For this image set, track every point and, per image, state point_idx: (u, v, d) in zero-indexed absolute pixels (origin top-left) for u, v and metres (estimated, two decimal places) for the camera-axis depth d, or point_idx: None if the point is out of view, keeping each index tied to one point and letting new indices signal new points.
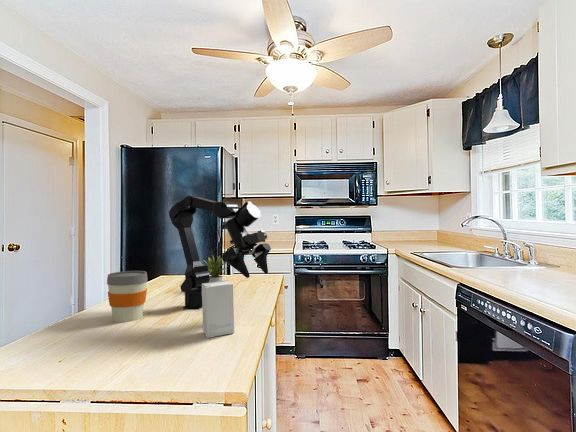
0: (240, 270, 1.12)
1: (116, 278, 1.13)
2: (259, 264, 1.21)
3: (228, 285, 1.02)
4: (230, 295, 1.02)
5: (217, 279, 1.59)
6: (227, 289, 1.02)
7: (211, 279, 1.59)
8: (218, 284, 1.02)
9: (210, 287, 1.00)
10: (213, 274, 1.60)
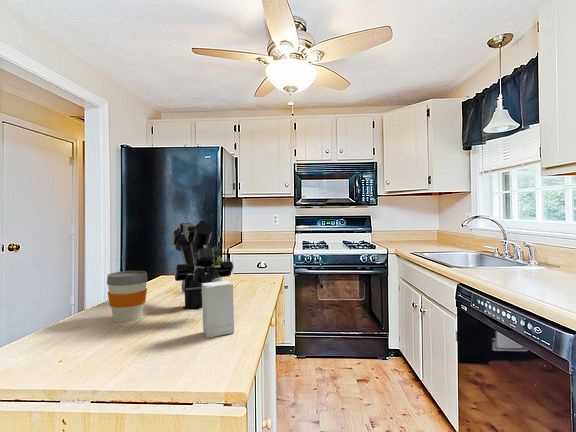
0: None
1: (116, 278, 1.13)
2: None
3: (228, 285, 1.02)
4: (230, 295, 1.02)
5: (217, 279, 1.59)
6: (227, 289, 1.02)
7: None
8: (218, 284, 1.02)
9: (210, 287, 1.00)
10: None
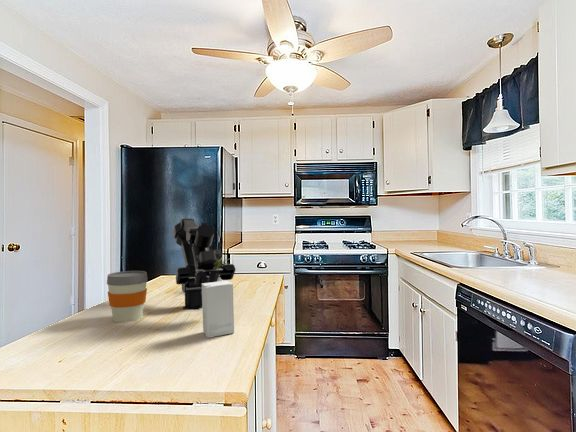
0: None
1: (116, 278, 1.13)
2: None
3: (228, 285, 1.02)
4: (230, 295, 1.02)
5: None
6: (227, 289, 1.02)
7: None
8: (218, 284, 1.02)
9: (210, 287, 1.00)
10: None
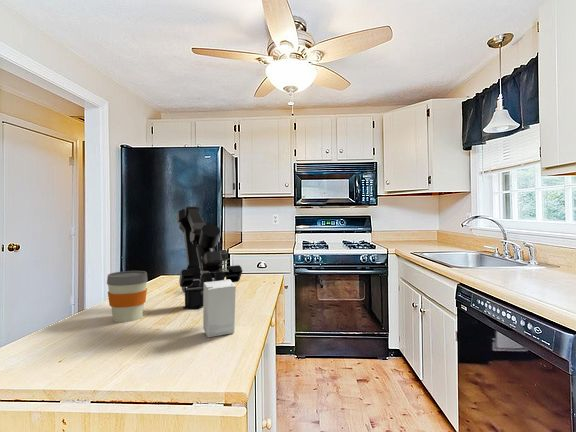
0: None
1: (116, 278, 1.13)
2: None
3: (230, 287, 1.00)
4: (232, 296, 1.01)
5: None
6: (229, 291, 1.00)
7: None
8: (220, 286, 1.00)
9: (212, 289, 0.98)
10: None
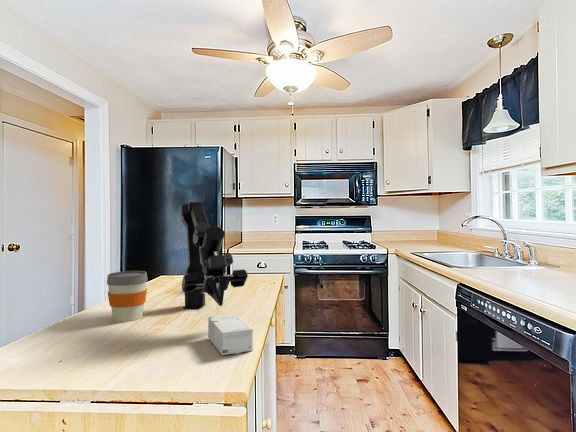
0: (214, 297, 1.03)
1: (116, 278, 1.13)
2: None
3: None
4: None
5: None
6: None
7: None
8: (237, 349, 0.88)
9: (227, 354, 0.87)
10: None
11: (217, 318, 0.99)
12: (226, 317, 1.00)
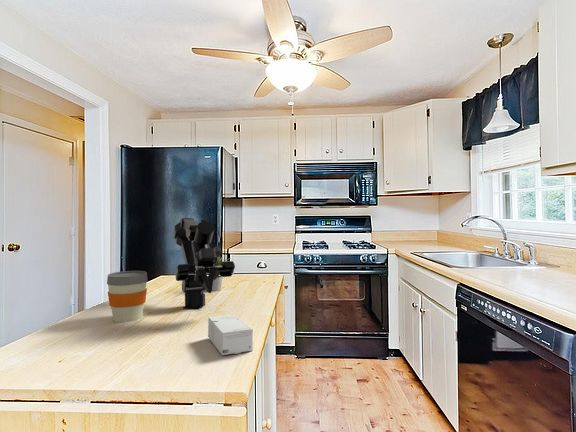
0: (204, 286, 1.14)
1: (116, 278, 1.13)
2: None
3: None
4: None
5: (217, 279, 1.59)
6: None
7: None
8: (237, 349, 0.88)
9: (227, 354, 0.87)
10: None
11: (217, 318, 0.99)
12: (226, 317, 1.00)
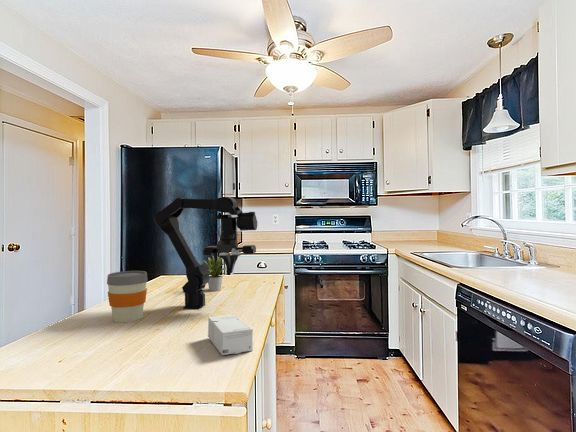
0: None
1: (116, 278, 1.13)
2: None
3: None
4: None
5: (217, 279, 1.59)
6: None
7: (211, 279, 1.59)
8: (237, 349, 0.88)
9: (227, 354, 0.87)
10: (213, 274, 1.60)
11: (217, 318, 0.99)
12: (226, 317, 1.00)
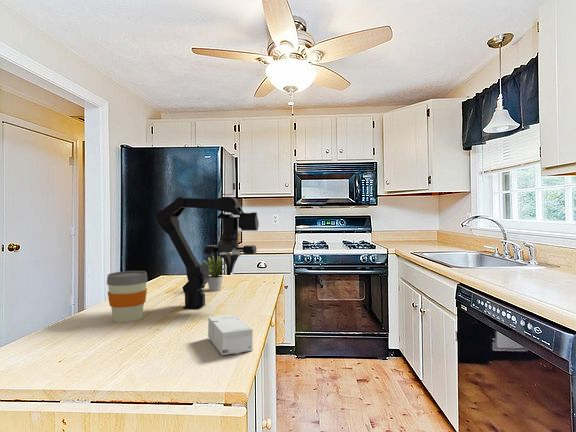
0: None
1: (116, 278, 1.13)
2: None
3: None
4: None
5: (217, 279, 1.59)
6: None
7: (211, 279, 1.59)
8: (237, 349, 0.88)
9: (227, 354, 0.87)
10: (213, 274, 1.60)
11: (217, 318, 0.99)
12: (226, 317, 1.00)
